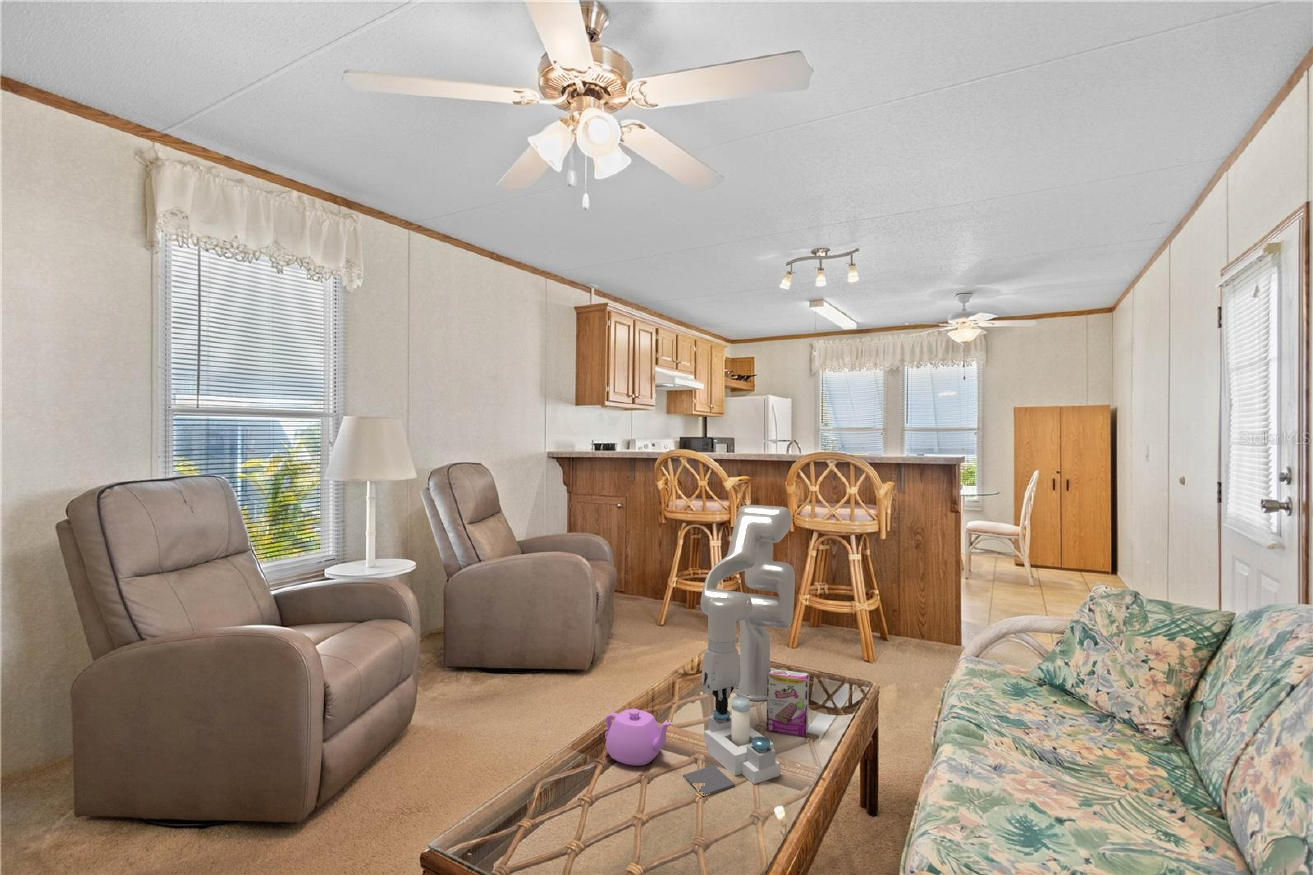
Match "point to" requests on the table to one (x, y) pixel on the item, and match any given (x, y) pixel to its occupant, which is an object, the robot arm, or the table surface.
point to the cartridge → (740, 721)
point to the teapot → (634, 737)
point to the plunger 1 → (721, 716)
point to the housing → (740, 753)
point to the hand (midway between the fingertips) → (721, 712)
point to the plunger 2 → (761, 744)
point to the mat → (710, 780)
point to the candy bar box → (787, 702)
